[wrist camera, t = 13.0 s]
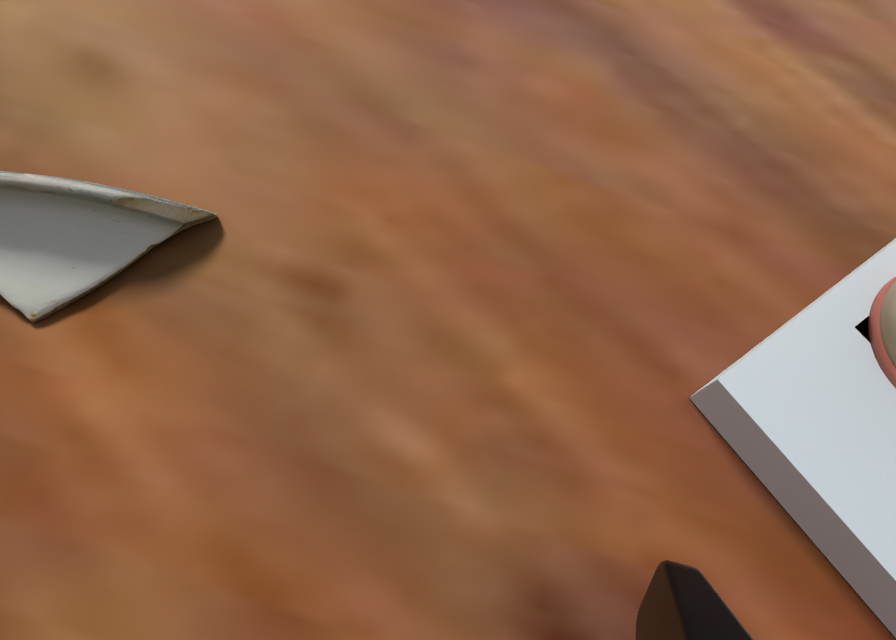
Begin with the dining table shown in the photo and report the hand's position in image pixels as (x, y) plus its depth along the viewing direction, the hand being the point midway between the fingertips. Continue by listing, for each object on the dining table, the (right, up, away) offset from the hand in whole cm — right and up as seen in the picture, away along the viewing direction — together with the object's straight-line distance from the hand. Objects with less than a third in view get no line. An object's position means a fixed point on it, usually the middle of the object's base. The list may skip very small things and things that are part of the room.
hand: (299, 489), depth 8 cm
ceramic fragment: (-14, +6, +17) cm, 23 cm away
